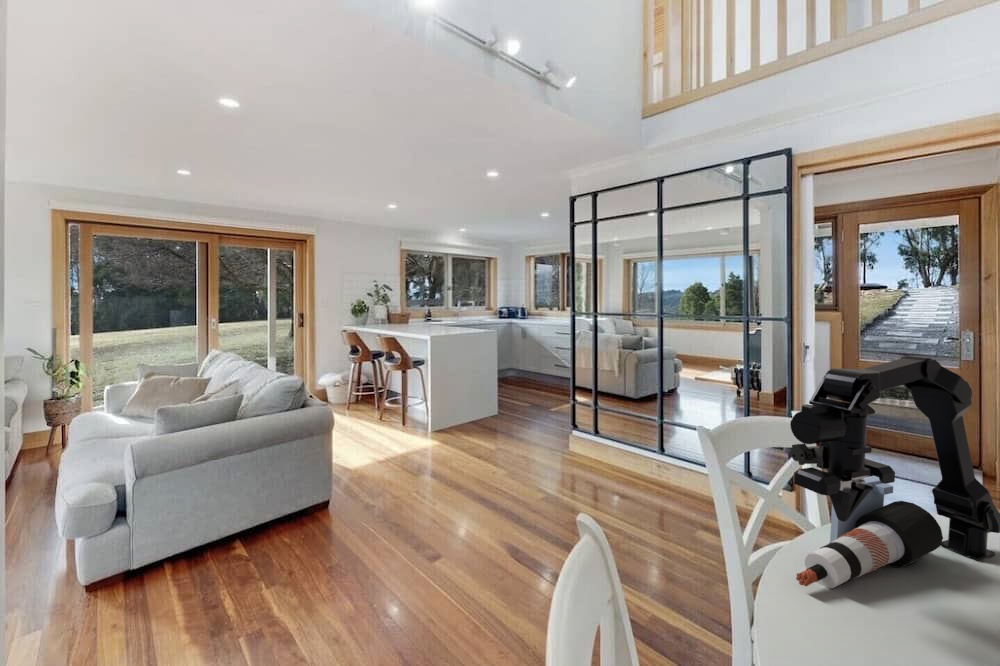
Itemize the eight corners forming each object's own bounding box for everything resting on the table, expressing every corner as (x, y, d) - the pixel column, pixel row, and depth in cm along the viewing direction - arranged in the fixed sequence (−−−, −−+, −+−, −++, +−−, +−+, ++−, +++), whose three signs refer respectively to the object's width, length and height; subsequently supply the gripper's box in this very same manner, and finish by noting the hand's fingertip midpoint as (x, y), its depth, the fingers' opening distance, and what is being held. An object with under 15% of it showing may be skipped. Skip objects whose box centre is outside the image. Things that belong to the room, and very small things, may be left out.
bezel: (874, 538, 101) (877, 477, 100) (892, 546, 98) (896, 483, 97) (829, 549, 97) (832, 485, 96) (847, 558, 94) (850, 492, 93)
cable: (791, 607, 85) (766, 550, 89) (899, 551, 98) (874, 502, 101) (842, 615, 77) (812, 551, 80) (954, 552, 89) (924, 499, 92)
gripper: (837, 422, 94) (833, 495, 95) (769, 431, 88) (766, 509, 89) (899, 437, 84) (894, 520, 85) (826, 449, 78) (822, 537, 79)
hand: (842, 520), depth 85 cm, fingers closed
